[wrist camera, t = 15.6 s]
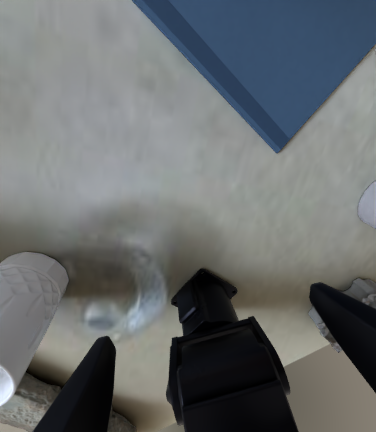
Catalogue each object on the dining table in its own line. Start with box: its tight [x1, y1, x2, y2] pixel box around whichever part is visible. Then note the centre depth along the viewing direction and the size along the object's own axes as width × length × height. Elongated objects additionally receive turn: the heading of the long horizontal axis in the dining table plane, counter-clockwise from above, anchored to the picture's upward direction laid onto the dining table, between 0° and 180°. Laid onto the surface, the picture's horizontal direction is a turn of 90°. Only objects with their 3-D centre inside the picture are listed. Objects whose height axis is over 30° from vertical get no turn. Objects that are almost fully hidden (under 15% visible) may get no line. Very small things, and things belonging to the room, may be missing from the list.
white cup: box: [0, 252, 69, 407], centre depth 17 cm, size 8×8×10 cm
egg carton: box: [309, 278, 376, 353], centre depth 28 cm, size 11×8×4 cm
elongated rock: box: [0, 372, 136, 432], centre depth 29 cm, size 35×5×10 cm
